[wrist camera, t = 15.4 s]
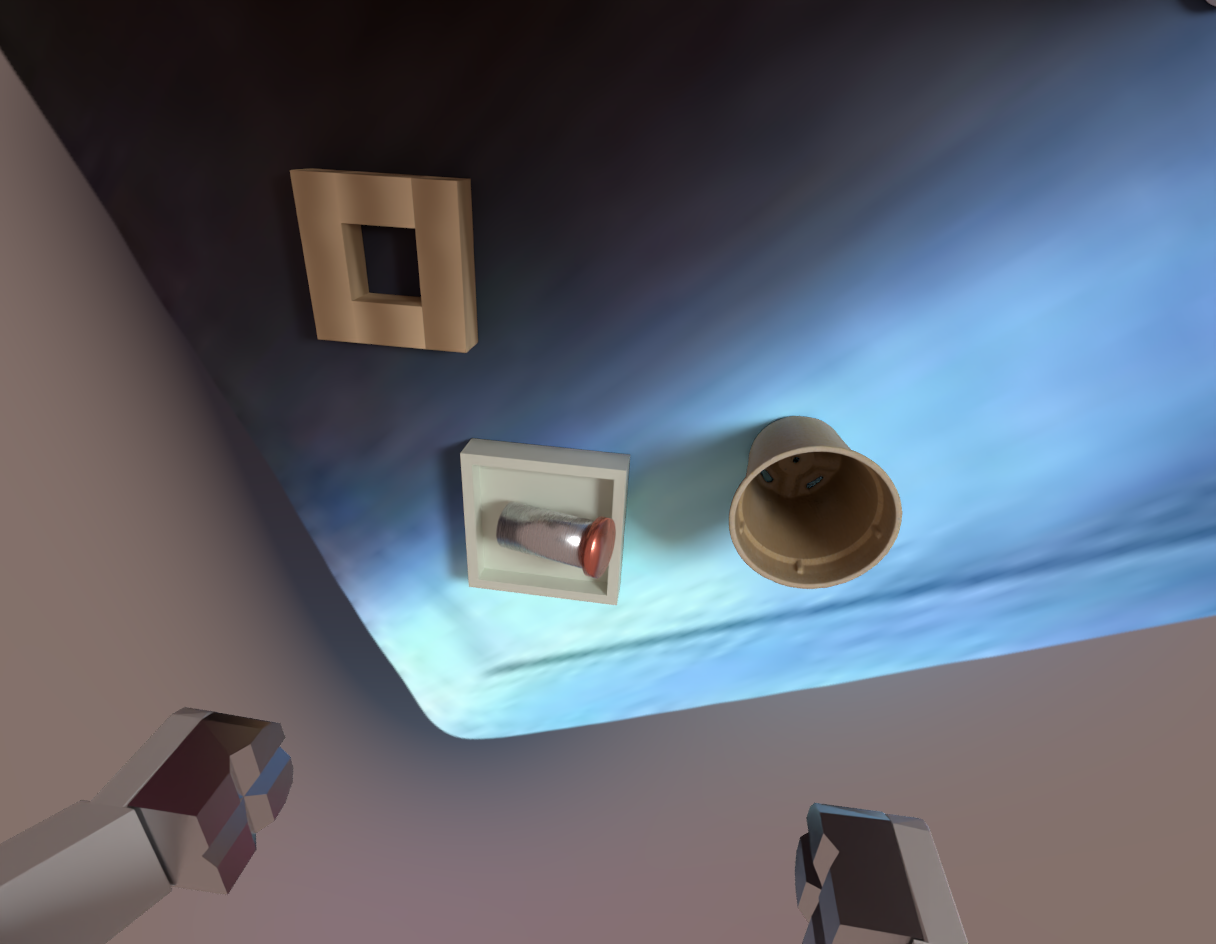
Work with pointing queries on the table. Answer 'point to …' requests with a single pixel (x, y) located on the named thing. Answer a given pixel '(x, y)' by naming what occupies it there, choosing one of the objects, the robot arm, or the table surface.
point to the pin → (558, 537)
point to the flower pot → (812, 507)
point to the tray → (551, 484)
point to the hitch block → (339, 268)
